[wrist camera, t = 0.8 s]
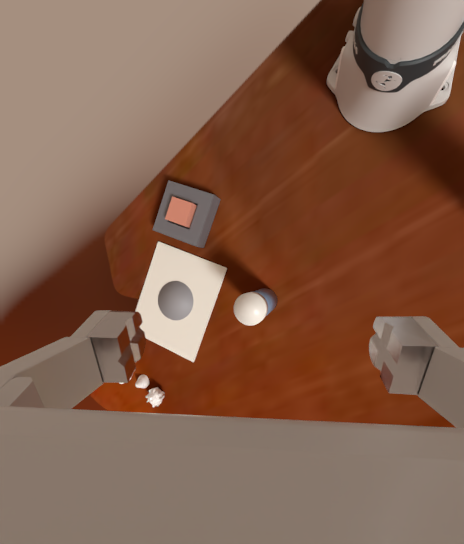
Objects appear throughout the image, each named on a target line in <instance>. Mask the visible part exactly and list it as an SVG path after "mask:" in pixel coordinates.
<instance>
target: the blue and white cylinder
mask: <svg viewBox="0 0 464 544" xmlns="http://www.w3.org/2000/svg"><path fill="white" fill-rule="evenodd" d="M276 305H277V296H276V294H275V293H274V292H273V291H272V290H270V289H267V288H263V289H260V290H256V291H253V292H248V293H244V294H242V295H240V296H239V297H238V298H237V299H236V301H235V304H234V313H235V316H236V318H237V319H238V320H239V321H240V322H241V323H243V324H245V325H256V324H258V323H259V322H261V321H262V320H263V319H264V318H265V316H266V315H267V314H269V313H270V312H271V311H272V310H273V309H274V308H275V307H276Z"/></svg>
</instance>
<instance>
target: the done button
mask: <svg viewBox="0 0 464 544" xmlns="http://www.w3.org/2000/svg"><path fill="white" fill-rule="evenodd" d="M196 208H197V205H195V204H193V203H191V202H188V201H185V200H182V199H179V198H176V197H173V196H172V199H171V202H170V205H169V208H168V211H167V214H166V217H165V219H166V220H169V221H171V222H174V223H177V224H180V225H183V226H185V227H188V228H190V226H191V223H192V220H193V217H194V214H195V211H196Z"/></svg>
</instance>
